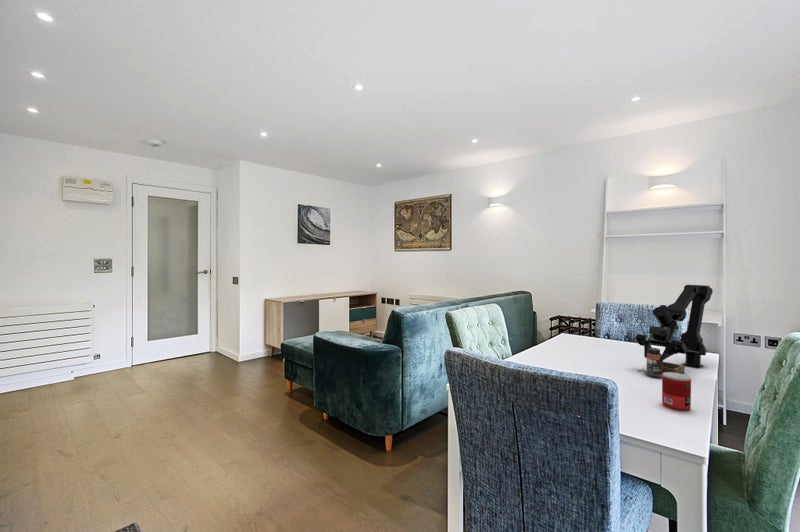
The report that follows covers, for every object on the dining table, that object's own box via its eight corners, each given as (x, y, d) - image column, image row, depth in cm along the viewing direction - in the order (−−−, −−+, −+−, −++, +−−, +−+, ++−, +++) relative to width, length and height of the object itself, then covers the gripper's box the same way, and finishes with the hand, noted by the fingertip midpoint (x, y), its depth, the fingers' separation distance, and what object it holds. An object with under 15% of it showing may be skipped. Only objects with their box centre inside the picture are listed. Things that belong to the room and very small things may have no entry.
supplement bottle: (657, 372, 163) (657, 347, 163) (666, 377, 157) (666, 350, 157) (643, 372, 163) (643, 347, 163) (651, 376, 158) (651, 350, 157)
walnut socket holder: (657, 367, 173) (657, 360, 173) (684, 373, 164) (684, 365, 164) (648, 371, 167) (648, 364, 167) (675, 378, 158) (675, 370, 158)
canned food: (692, 413, 123) (692, 380, 122) (662, 408, 127) (663, 376, 127) (688, 405, 129) (689, 374, 129) (661, 400, 133) (661, 370, 133)
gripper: (637, 316, 170) (623, 343, 165) (684, 322, 153) (670, 352, 148) (646, 331, 174) (633, 357, 169) (693, 339, 157) (680, 368, 152)
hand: (652, 358), depth 159 cm, fingers closed on supplement bottle, 6 cm apart
